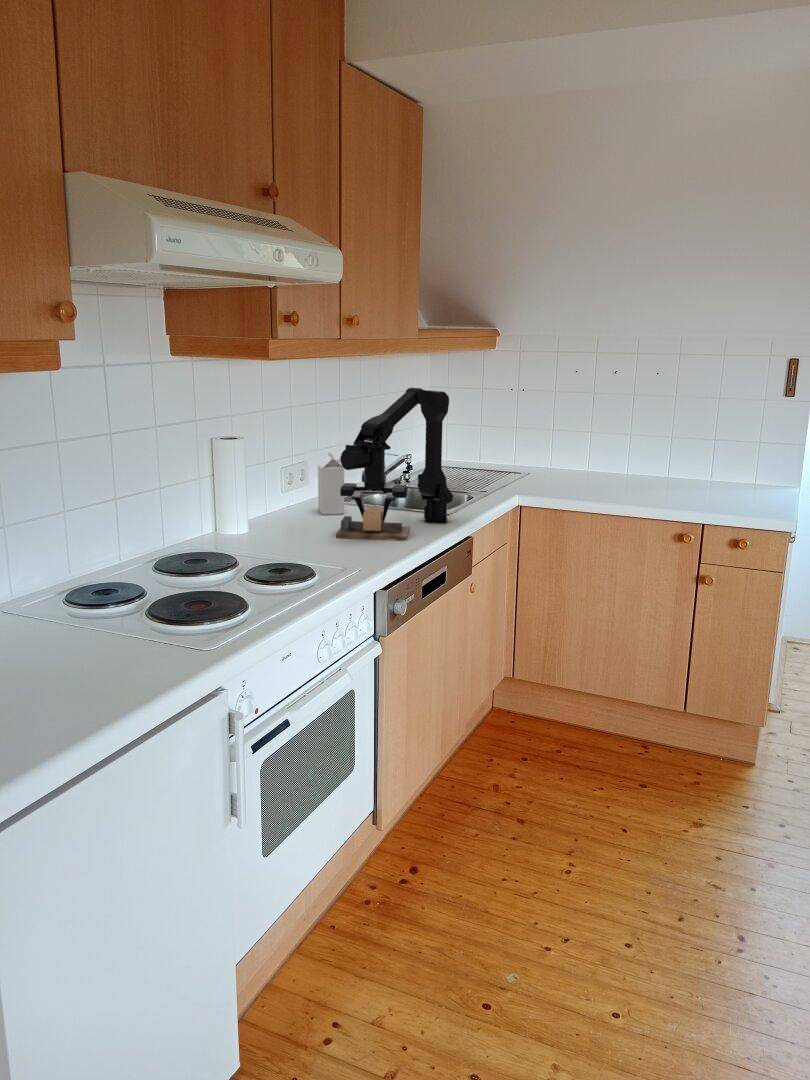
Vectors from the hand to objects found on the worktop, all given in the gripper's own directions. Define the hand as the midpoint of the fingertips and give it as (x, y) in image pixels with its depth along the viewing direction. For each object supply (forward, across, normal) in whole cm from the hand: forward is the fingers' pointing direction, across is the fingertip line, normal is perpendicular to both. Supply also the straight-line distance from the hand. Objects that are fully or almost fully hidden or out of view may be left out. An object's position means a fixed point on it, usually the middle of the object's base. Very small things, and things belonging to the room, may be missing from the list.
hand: (374, 519), depth 241 cm
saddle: (+2, 0, 0) cm, 2 cm away
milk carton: (+4, +17, -26) cm, 31 cm away
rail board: (+4, 0, 0) cm, 4 cm away
